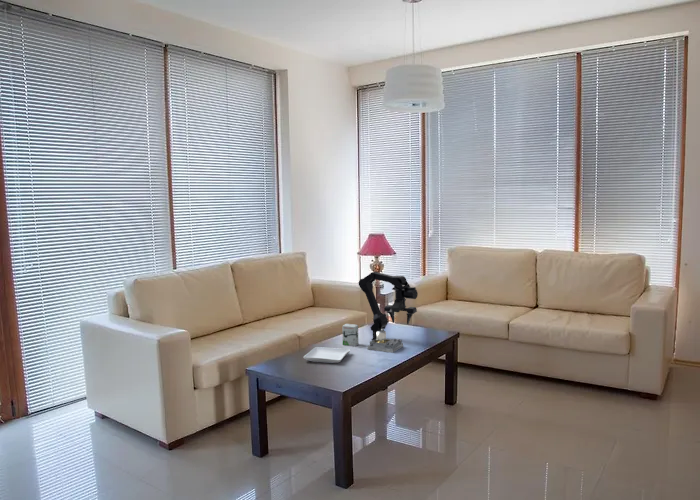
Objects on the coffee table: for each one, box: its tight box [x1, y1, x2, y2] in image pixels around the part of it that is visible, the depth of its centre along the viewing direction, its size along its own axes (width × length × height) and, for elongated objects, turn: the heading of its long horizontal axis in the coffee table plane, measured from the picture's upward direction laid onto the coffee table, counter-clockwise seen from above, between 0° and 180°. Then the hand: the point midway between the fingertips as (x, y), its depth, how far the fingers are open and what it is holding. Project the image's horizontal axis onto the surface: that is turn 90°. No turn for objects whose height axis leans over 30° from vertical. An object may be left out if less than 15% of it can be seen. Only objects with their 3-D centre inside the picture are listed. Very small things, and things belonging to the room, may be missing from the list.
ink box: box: [341, 323, 359, 347], centre depth 321 cm, size 9×5×12 cm, turn 68°
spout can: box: [376, 329, 387, 343], centre depth 313 cm, size 6×6×8 cm
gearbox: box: [366, 338, 404, 354], centre depth 312 cm, size 16×14×5 cm
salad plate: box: [302, 346, 352, 364], centre depth 296 cm, size 21×21×3 cm
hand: (400, 323), depth 321 cm, fingers open, 9 cm apart
